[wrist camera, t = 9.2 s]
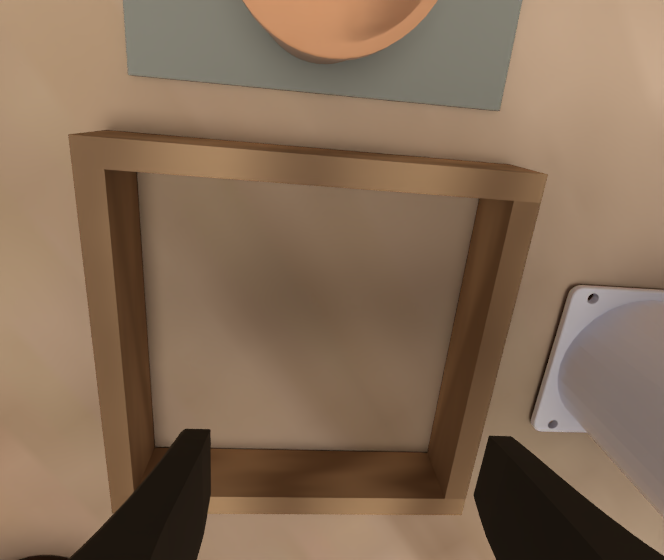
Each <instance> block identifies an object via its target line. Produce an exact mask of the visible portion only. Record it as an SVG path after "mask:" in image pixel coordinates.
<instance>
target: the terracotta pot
mask: <svg viewBox="0 0 664 560" xmlns="http://www.w3.org/2000/svg"><path fill="white" fill-rule="evenodd" d="M242 1H243V3H244V4H245V6H246V7H247V9H248V10H249V12H250V13H251V15H252V16H253V17H254V18H255V20H256V21H257V22H258V23H259V24H260V25H261V26H262V27H263V29H265V30H266V31H267V32H268V33H269V34H270V36H271V37H272V38H273V39H274V40H275V42H276V43H277V44H278V45H279V46H281V47H282V48H283V49H284V50H285V51H287V52H288V53H290V54H291V55H293V56H295V57H297V58H299V59H301V60H304V61H307V62H310V63H315V64H335V63H339V62H343V61H346V60H355V59H359V58H363V57H366V56H369V55H372V54H374V53H377V52H379V51H381V50H383V49H385V48H386V47H388V46H390V45H391V44H393V43H395V42H396V41H398V40H399V39H401V38H403V37H404V36H405V35H406V34H408V33H409V32H410V31H411V30H413V29H414V28H415V27H416V26H417V25H418V24H419V23H420V22H421V21H422V20H423V19H424V18H425V17H426V16H427V14H428V13H429V12H430V10H431V9H432V8H433V6H434V5H435V4H436V2H437V1H438V0H242Z"/></svg>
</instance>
